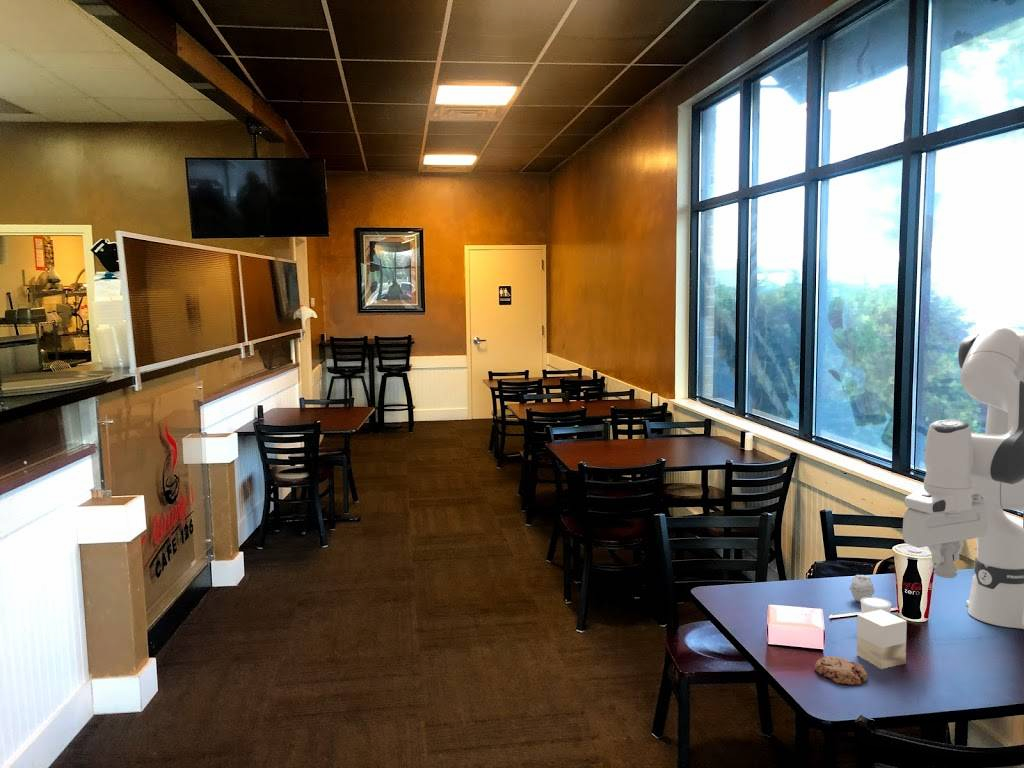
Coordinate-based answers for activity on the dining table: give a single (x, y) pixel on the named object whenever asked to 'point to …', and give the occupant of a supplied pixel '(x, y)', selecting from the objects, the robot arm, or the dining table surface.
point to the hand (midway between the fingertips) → (945, 561)
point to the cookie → (841, 670)
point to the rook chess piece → (946, 562)
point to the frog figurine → (861, 587)
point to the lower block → (881, 654)
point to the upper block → (881, 628)
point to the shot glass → (874, 604)
